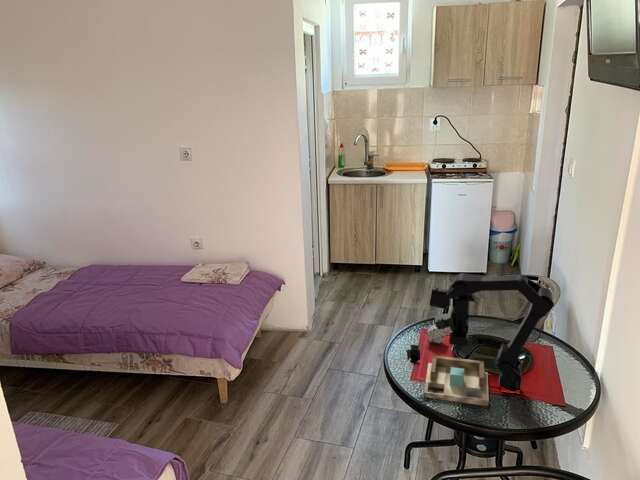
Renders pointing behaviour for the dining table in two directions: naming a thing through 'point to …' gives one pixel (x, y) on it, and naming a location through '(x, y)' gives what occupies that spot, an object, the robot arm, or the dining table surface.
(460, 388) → the board
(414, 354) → the black box
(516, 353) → the robot arm
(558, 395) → the dining table surface
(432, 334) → the game die
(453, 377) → the block
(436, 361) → the cubby
